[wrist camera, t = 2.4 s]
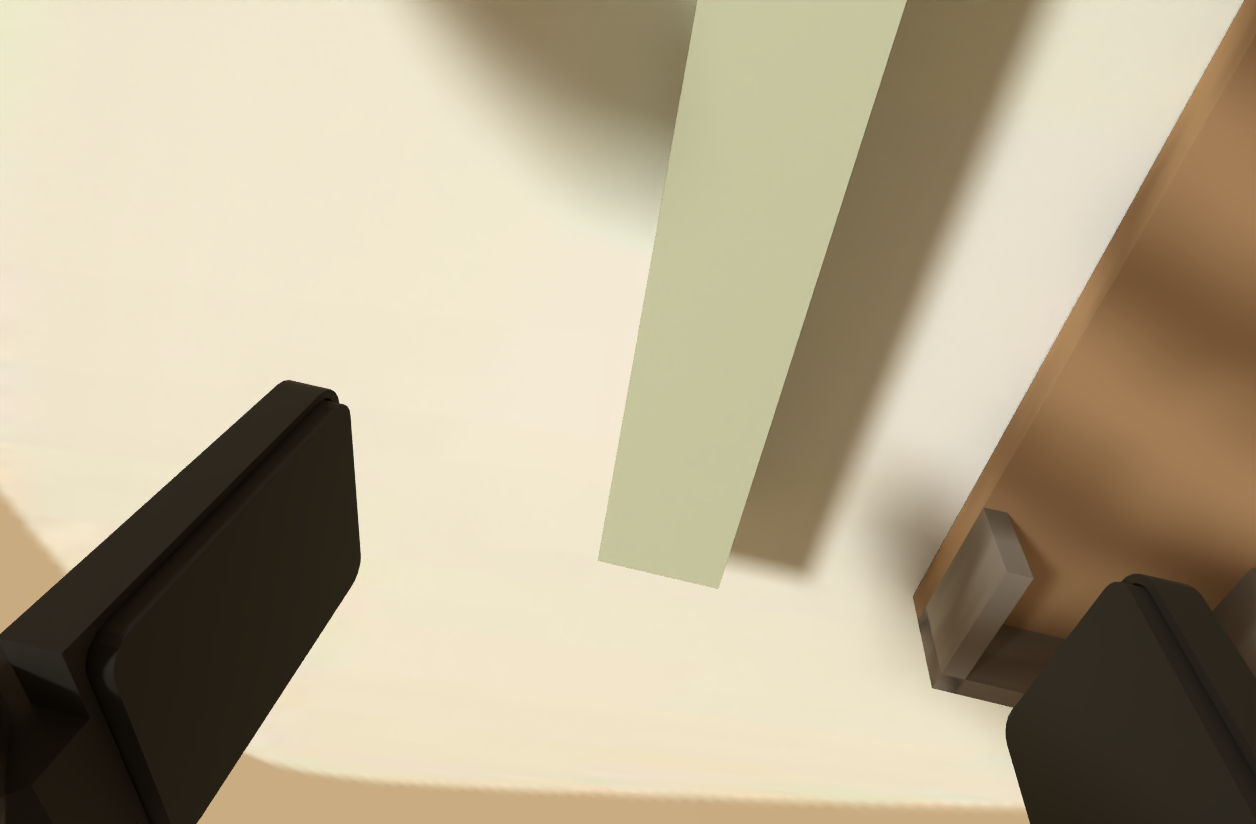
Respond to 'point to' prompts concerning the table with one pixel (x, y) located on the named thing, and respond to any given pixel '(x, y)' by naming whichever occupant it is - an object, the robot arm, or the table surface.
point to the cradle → (1126, 421)
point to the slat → (736, 264)
